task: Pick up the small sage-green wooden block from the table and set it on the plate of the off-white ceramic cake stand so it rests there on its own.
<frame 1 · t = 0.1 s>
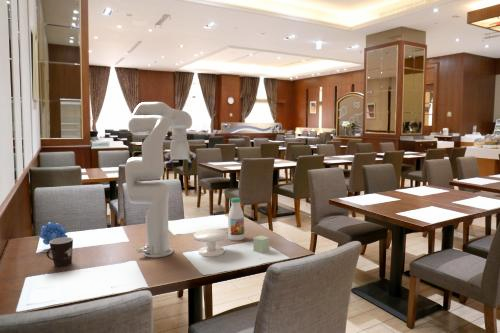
hand: (180, 169, 210), 31 cm above the table, tool pointing down, fingers open, 9 cm apart
grapes: (54, 248, 178), on the table
cake stand: (211, 252, 168), on the table
coffee mug: (59, 265, 156), on the table
milk bottle: (236, 239, 188), on the table
block: (261, 250, 170), on the table
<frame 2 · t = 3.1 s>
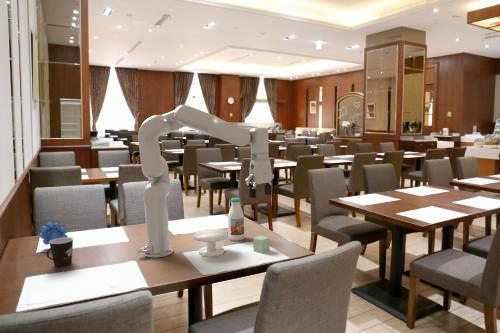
hand: (260, 196, 167), 24 cm above the table, tool pointing down, fingers open, 9 cm apart
nothing on the table moved.
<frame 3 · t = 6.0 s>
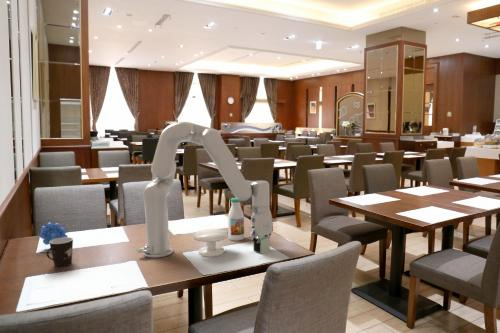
hand: (261, 249, 169), 1 cm above the table, tool pointing down, fingers closed on block, 5 cm apart
block: (261, 250, 170), on the table, touching gripper
everything else where it was.
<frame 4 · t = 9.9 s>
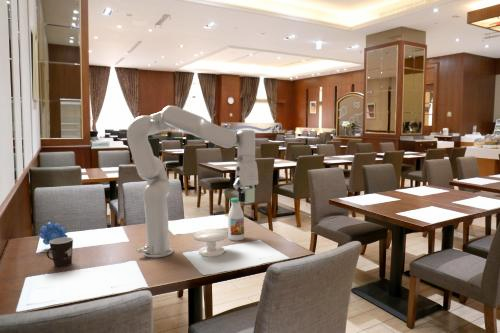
hand: (246, 200, 167), 23 cm above the table, tool pointing down, fingers closed on block, 5 cm apart
block: (246, 202, 167), point 22 cm above the table, touching gripper
everything else where it was.
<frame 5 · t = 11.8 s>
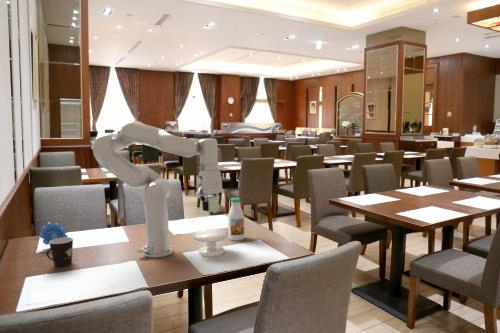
hand: (210, 208, 166), 19 cm above the table, tool pointing down, fingers closed on block, 5 cm apart
block: (210, 210, 166), point 19 cm above the table, touching gripper
everything else where it was.
when the fingers open (10 cm above the table, at t = 13.7 s): block drops 1 cm, resting on cake stand.
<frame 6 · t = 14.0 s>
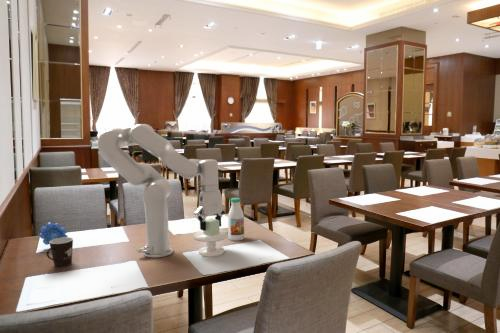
hand: (210, 227, 167), 11 cm above the table, tool pointing down, fingers open, 8 cm apart
cake stand: (211, 252, 168), on the table, touching block
block: (211, 233, 168), point 8 cm above the table, touching cake stand
everything else where it was.
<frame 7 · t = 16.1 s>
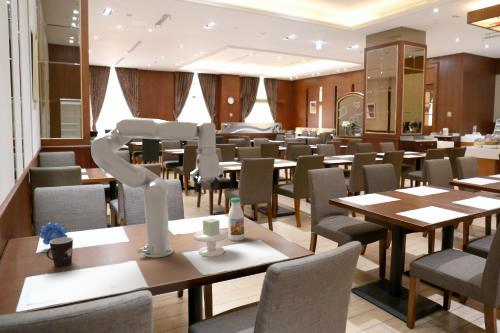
hand: (207, 190, 168), 27 cm above the table, tool pointing down, fingers open, 9 cm apart
nothing on the table moved.
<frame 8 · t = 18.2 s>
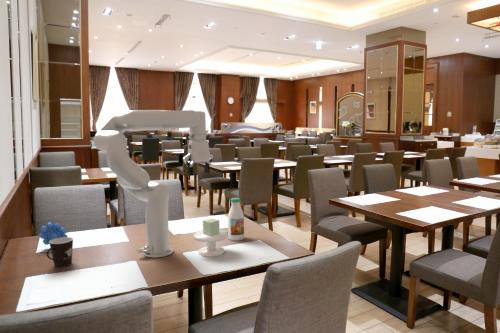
hand: (199, 174, 182), 32 cm above the table, tool pointing down, fingers open, 9 cm apart
nothing on the table moved.
at the end: block inside the target area on the cake stand (0.2 cm from its centre), point 8.4 cm above the cake stand's base; the gripper is holding nothing; block tilted 0° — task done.
